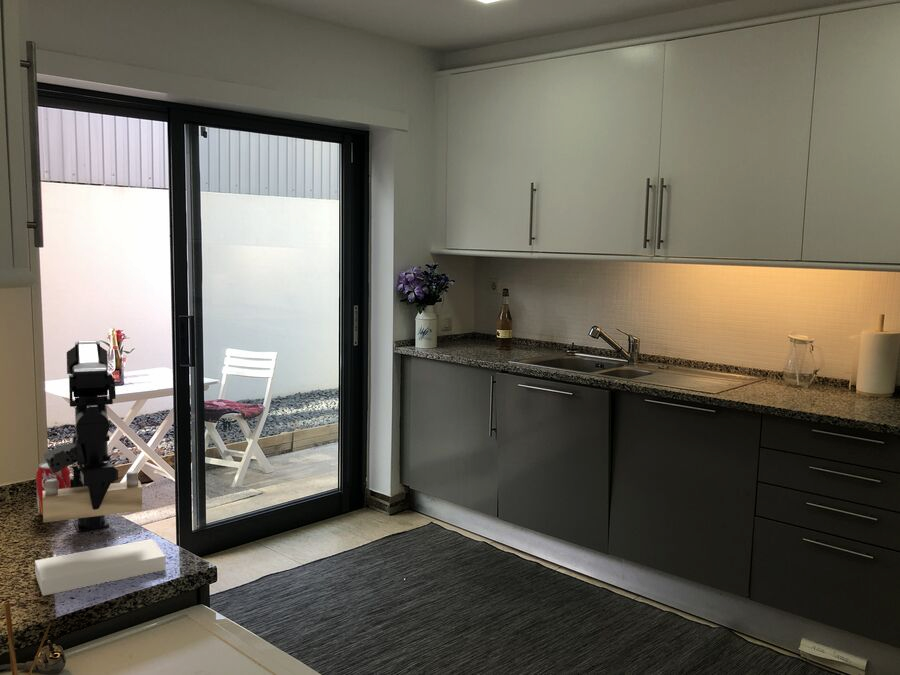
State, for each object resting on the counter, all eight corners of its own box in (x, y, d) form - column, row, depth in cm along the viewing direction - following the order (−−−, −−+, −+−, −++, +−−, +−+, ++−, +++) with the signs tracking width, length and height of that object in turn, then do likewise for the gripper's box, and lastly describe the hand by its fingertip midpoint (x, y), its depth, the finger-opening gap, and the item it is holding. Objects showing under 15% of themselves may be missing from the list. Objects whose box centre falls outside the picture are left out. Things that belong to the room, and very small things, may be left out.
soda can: (34, 519, 179) (32, 469, 177) (41, 508, 186) (39, 460, 184) (67, 517, 181) (66, 467, 179) (73, 506, 187) (72, 458, 186)
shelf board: (35, 575, 151) (34, 560, 151) (152, 552, 163) (152, 538, 163) (42, 595, 143) (42, 580, 142) (165, 570, 155) (165, 555, 155)
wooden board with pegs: (43, 515, 155) (42, 478, 154) (140, 503, 163) (139, 469, 162) (43, 522, 151) (42, 485, 150) (142, 510, 159) (141, 475, 158)
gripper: (40, 424, 158) (42, 498, 160) (53, 445, 143) (56, 527, 144) (99, 418, 164) (100, 490, 166) (118, 438, 149) (119, 517, 151)
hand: (93, 505), depth 157 cm, fingers closed on wooden board with pegs, 5 cm apart
